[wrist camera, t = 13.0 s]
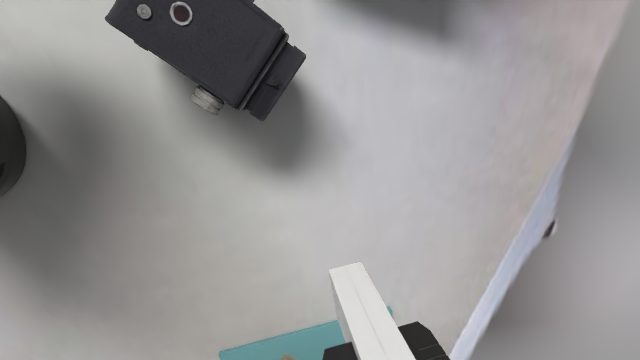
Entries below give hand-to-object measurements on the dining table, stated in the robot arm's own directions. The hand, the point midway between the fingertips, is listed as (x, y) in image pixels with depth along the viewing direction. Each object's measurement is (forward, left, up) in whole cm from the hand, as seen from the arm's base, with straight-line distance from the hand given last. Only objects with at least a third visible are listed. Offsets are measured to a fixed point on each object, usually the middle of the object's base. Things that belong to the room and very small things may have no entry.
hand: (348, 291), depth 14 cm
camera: (-5, +14, -26) cm, 30 cm away
